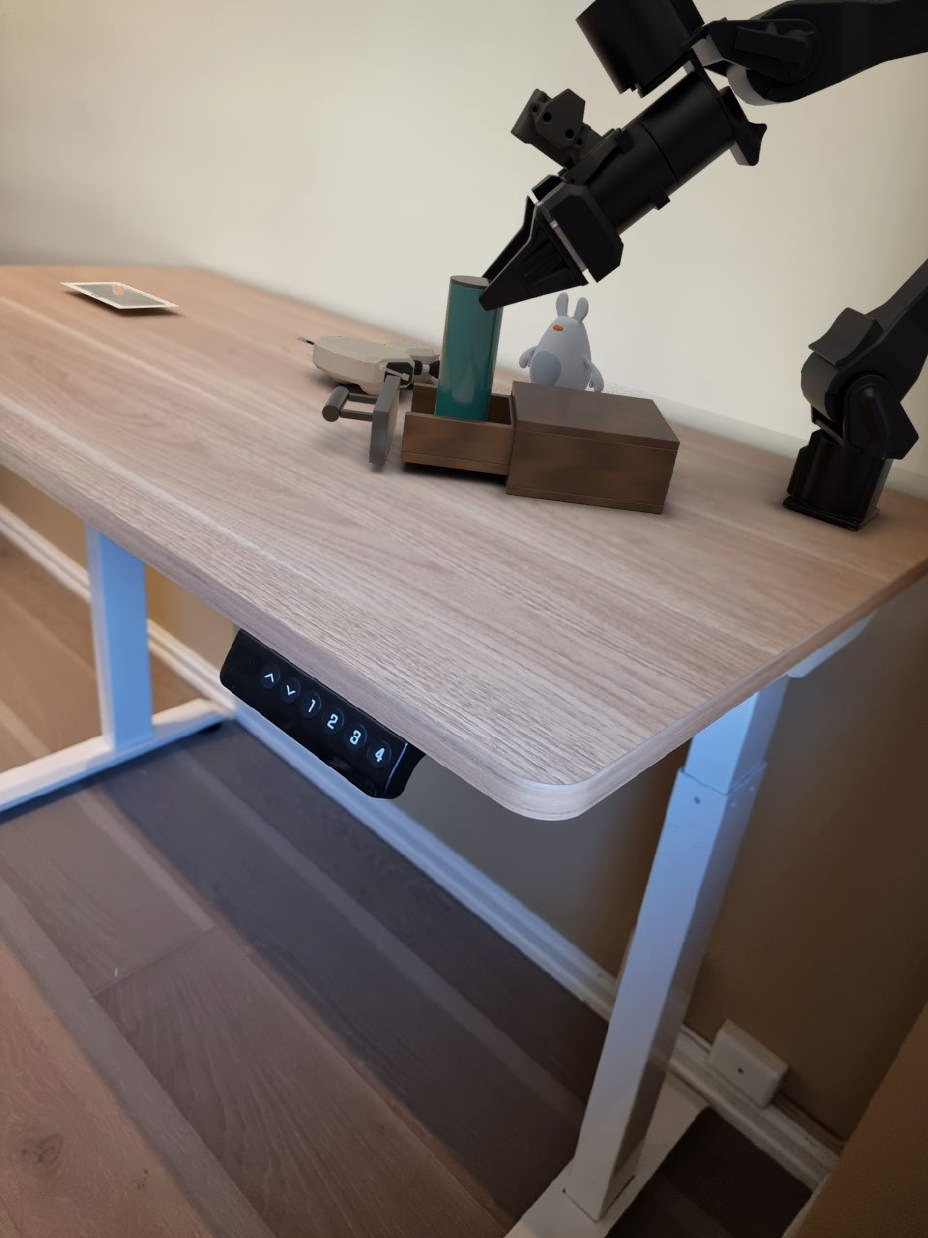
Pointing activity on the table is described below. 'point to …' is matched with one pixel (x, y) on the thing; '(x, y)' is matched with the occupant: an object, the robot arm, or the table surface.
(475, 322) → the lidded cylindrical canister
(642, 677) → the table surface
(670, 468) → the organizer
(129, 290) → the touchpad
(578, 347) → the toy figure
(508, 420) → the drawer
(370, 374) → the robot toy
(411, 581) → the table surface
